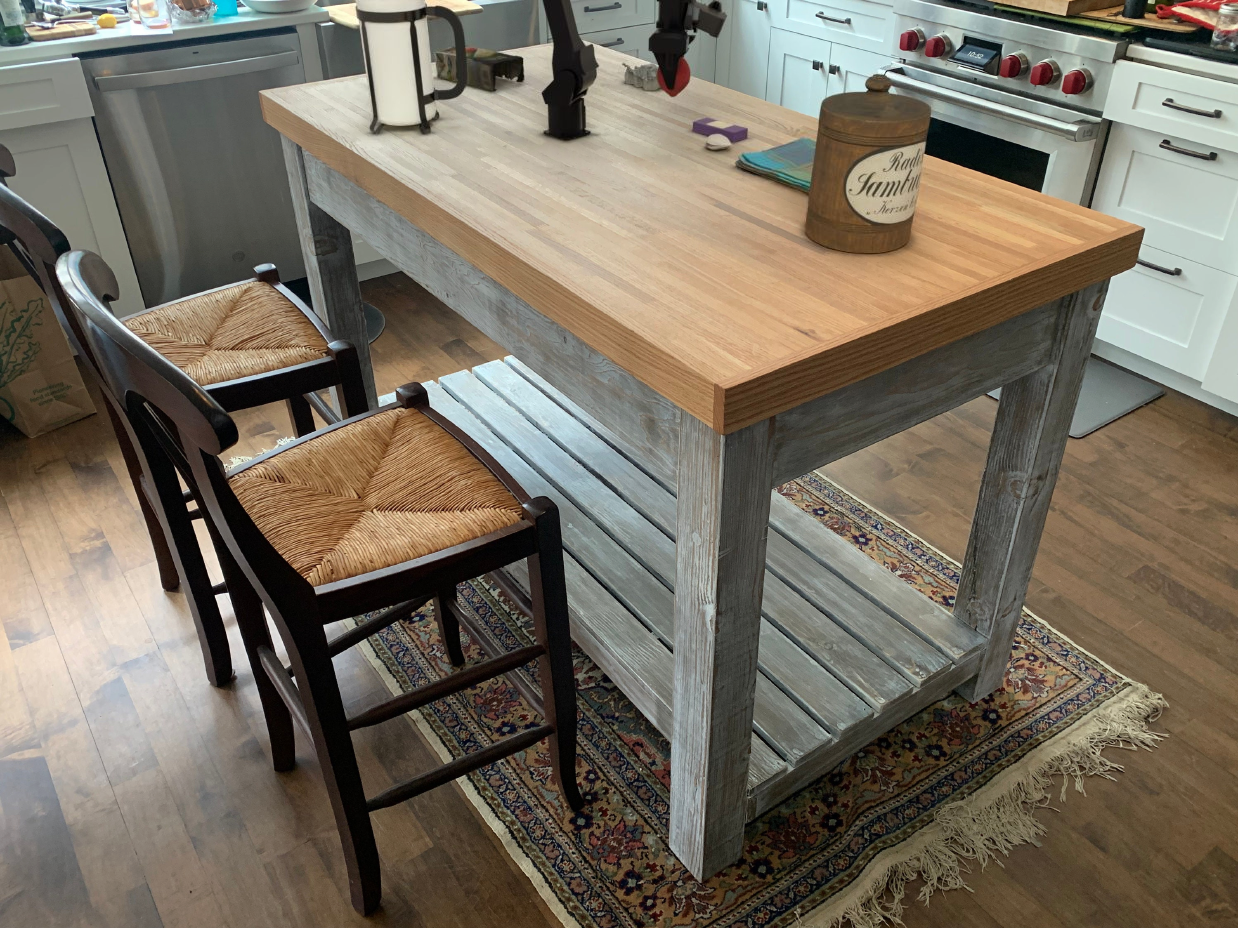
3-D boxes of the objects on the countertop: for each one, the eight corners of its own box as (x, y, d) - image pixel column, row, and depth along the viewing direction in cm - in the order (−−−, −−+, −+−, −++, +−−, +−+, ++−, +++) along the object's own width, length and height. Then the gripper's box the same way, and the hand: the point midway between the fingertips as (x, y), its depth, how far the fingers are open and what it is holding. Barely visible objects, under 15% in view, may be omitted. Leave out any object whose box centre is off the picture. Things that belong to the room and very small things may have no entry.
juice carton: (431, 77, 218) (428, 47, 215) (465, 69, 224) (463, 41, 221) (492, 94, 207) (491, 63, 204) (526, 85, 213) (525, 55, 210)
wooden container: (859, 263, 134) (884, 95, 121) (783, 230, 144) (799, 72, 131) (931, 238, 141) (962, 78, 128) (854, 208, 151) (875, 57, 138)
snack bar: (747, 138, 181) (748, 127, 180) (733, 143, 178) (733, 132, 177) (706, 127, 187) (706, 117, 186) (692, 131, 184) (692, 121, 183)
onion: (690, 101, 170) (692, 52, 165) (656, 101, 170) (657, 52, 165) (688, 93, 174) (690, 45, 170) (656, 92, 174) (657, 44, 170)
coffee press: (392, 144, 178) (369, -41, 161) (351, 124, 188) (325, -52, 171) (474, 126, 187) (459, -50, 170) (430, 108, 197) (413, -60, 180)
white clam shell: (714, 144, 178) (715, 130, 176) (737, 150, 175) (738, 135, 174) (700, 150, 175) (701, 135, 174) (724, 155, 172) (725, 141, 171)
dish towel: (806, 149, 175) (807, 135, 174) (909, 185, 160) (912, 169, 158) (733, 168, 167) (734, 153, 165) (834, 207, 151) (836, 191, 150)
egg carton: (619, 82, 215) (619, 62, 213) (648, 77, 218) (648, 58, 216) (647, 92, 207) (647, 72, 205) (676, 87, 211) (676, 67, 208)
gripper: (719, -2, 153) (713, 101, 162) (730, -22, 168) (724, 74, 177) (648, -5, 155) (647, 98, 164) (665, -24, 170) (663, 71, 179)
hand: (672, 85), depth 171 cm, fingers closed on onion, 6 cm apart
